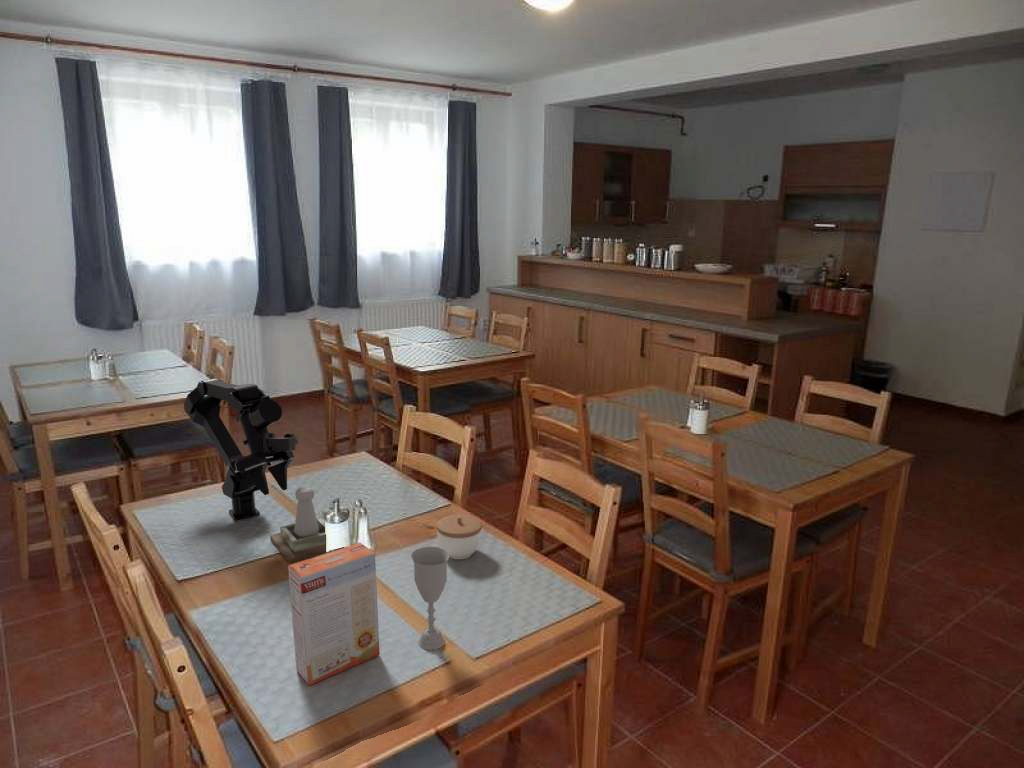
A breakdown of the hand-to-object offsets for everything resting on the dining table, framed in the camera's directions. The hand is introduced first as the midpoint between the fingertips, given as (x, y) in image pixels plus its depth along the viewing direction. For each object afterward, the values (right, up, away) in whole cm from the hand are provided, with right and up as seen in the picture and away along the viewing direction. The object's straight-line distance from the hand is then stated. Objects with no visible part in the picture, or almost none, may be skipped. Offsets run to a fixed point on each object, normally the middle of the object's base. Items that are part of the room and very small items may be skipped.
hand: (276, 492), depth 172 cm
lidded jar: (+46, -14, -6) cm, 48 cm away
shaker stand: (+9, -12, -2) cm, 15 cm away
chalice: (+43, -22, -40) cm, 63 cm away
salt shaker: (+8, -11, -3) cm, 14 cm away
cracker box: (+27, -24, -47) cm, 59 cm away
